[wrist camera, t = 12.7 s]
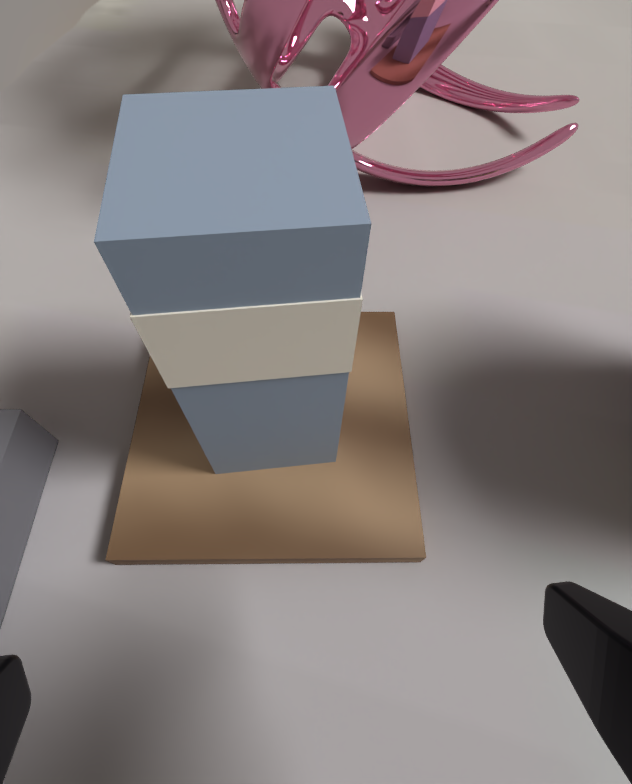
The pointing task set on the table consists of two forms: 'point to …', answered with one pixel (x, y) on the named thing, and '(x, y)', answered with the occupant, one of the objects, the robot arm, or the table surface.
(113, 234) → the carton
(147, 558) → the pad
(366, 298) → the table surface
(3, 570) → the tray
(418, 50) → the spiral basket
